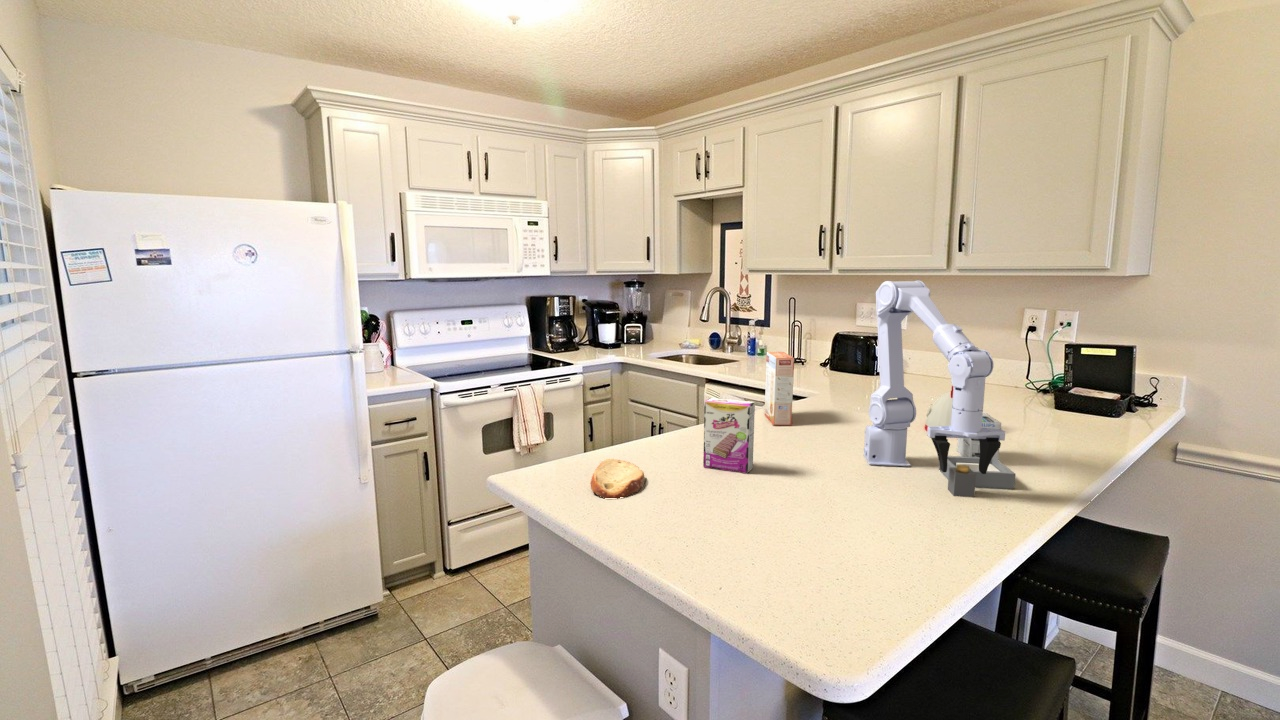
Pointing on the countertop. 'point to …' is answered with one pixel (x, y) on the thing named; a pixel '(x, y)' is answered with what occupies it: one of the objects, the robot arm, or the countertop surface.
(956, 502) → the countertop surface
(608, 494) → the slice of bread
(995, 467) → the box
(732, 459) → the candy bar box
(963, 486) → the plug
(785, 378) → the cracker box
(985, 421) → the light bulb box
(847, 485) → the countertop surface
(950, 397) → the cream dome
